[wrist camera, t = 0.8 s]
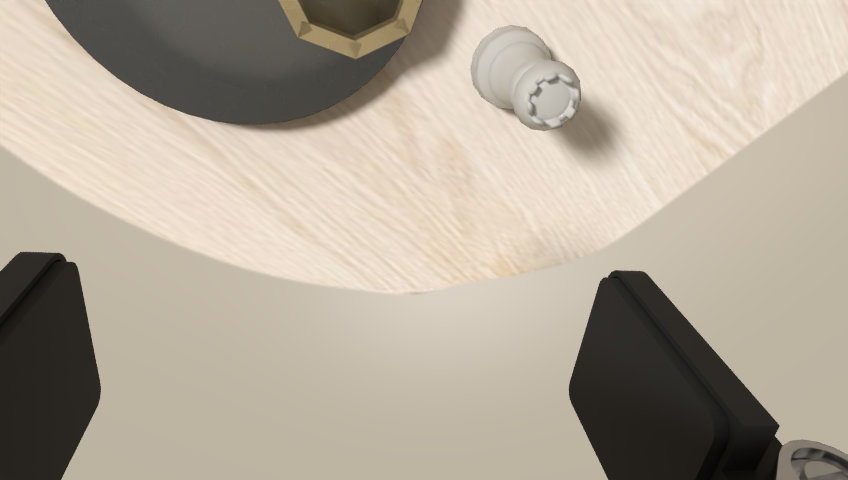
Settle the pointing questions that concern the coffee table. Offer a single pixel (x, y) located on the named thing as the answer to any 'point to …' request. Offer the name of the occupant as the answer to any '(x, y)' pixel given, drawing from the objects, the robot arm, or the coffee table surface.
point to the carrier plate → (241, 51)
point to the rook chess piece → (525, 78)
